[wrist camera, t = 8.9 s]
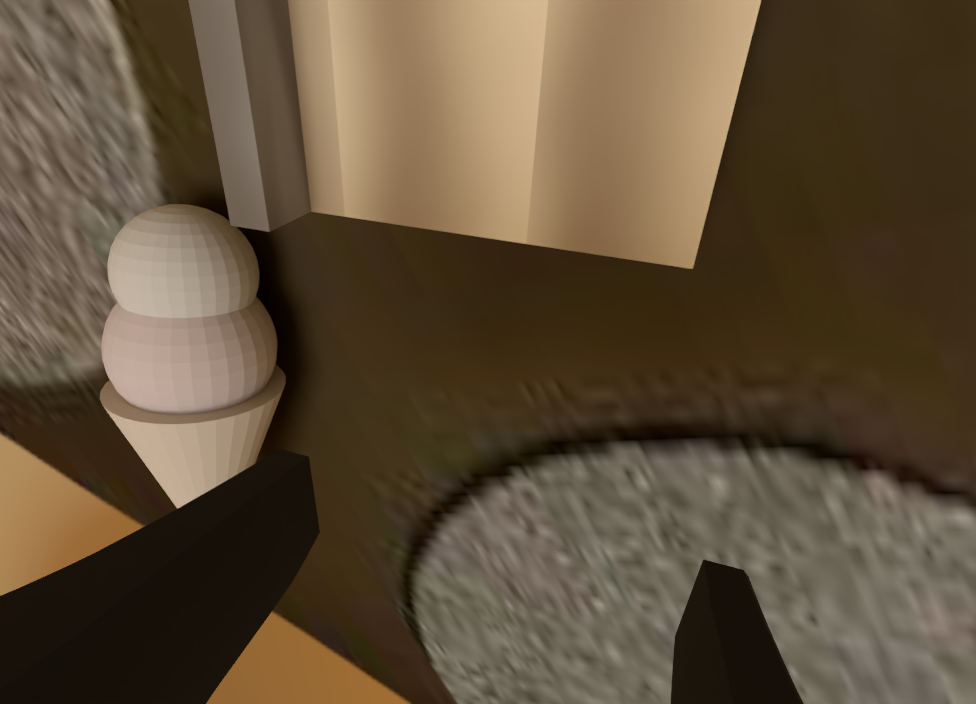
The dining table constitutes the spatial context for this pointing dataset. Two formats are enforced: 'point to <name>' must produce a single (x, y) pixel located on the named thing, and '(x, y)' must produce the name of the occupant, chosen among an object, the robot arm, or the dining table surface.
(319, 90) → the jig
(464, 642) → the dining table surface
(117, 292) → the ice cream cone
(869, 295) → the dining table surface
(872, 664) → the dining table surface
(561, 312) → the dining table surface
